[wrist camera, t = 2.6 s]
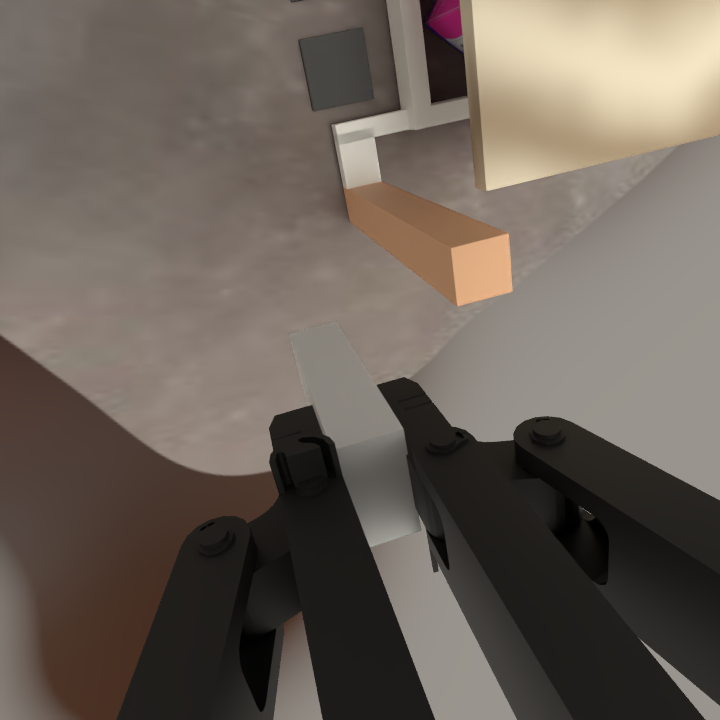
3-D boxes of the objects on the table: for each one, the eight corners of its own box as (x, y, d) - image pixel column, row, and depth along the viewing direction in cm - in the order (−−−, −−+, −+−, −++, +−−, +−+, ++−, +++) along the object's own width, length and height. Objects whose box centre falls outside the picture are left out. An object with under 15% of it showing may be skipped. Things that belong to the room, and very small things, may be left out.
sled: (291, -89, 31) (387, -322, 14) (567, -132, 34) (927, -376, 17) (349, 221, 39) (457, 306, 22) (570, 168, 41) (818, 208, 25)
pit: (298, 40, 34) (299, 39, 33) (361, 28, 34) (362, 27, 34) (313, 111, 36) (314, 111, 35) (372, 98, 36) (373, 98, 36)
